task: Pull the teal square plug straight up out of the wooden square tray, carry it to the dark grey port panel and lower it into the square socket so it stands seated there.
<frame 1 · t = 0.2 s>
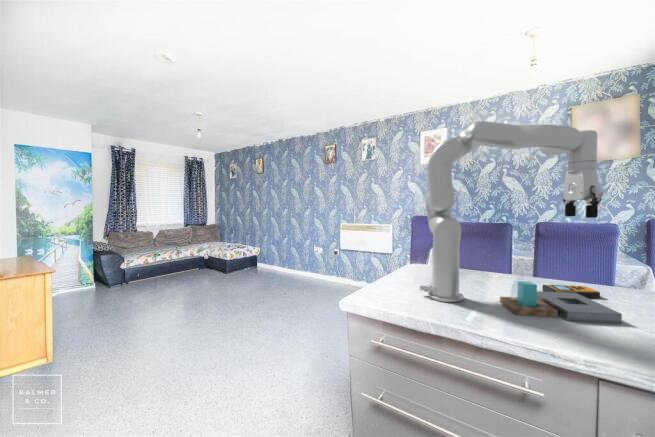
hand: (580, 216, 99), 31 cm above the worktop, tool pointing down, fingers open, 9 cm apart
electronic device: (570, 295, 110), on the worktop
plug: (526, 309, 96), resting in wooden square tray
port panel: (571, 310, 94), on the worktop
wooden square tray: (526, 308, 96), on the worktop
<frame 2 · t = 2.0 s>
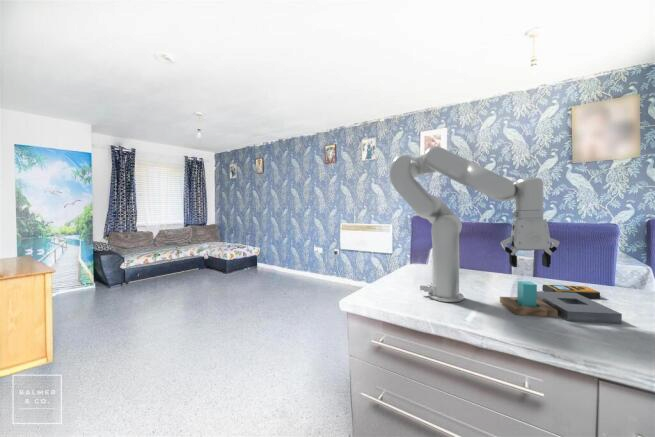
hand: (529, 266, 95), 15 cm above the worktop, tool pointing down, fingers open, 9 cm apart
nothing on the worktop moved.
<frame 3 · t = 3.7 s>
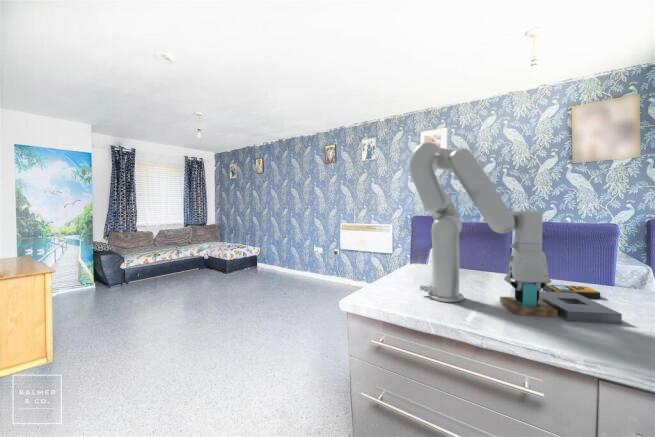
hand: (526, 300, 96), 3 cm above the worktop, tool pointing down, fingers closed on plug, 4 cm apart
plug: (526, 309, 96), resting in wooden square tray, touching gripper
everything else where it was.
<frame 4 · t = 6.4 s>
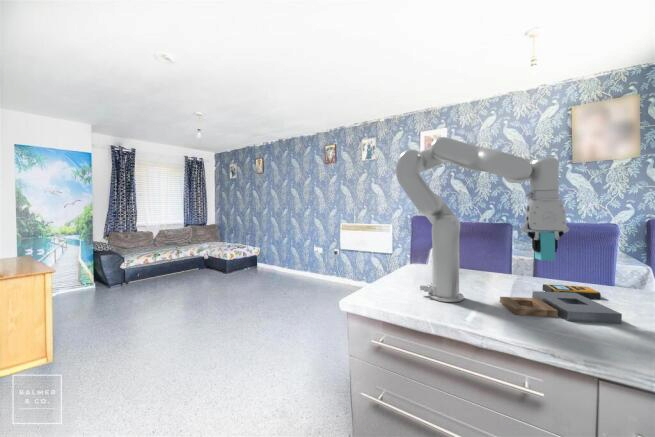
hand: (544, 250, 94), 20 cm above the worktop, tool pointing down, fingers closed on plug, 4 cm apart
plug: (544, 259, 94), point 17 cm above the worktop, touching gripper
everything else where it was.
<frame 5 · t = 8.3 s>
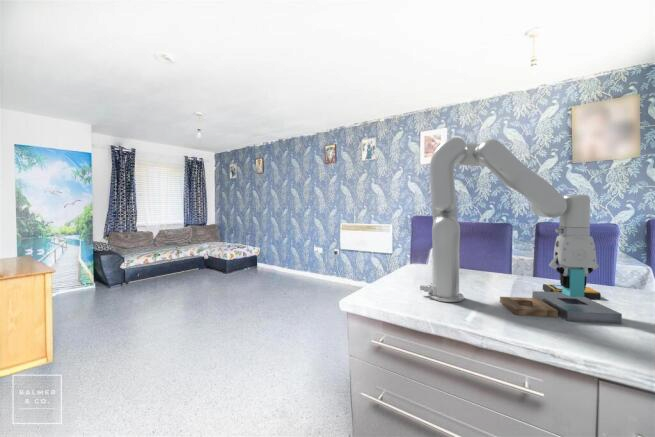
hand: (573, 286, 94), 8 cm above the worktop, tool pointing down, fingers closed on plug, 4 cm apart
plug: (573, 294, 94), point 5 cm above the worktop, touching gripper
everything else where it was.
when the fingers open (4 cm above the worktop, at t = 9.5 s): plug drops 1 cm, resting in port panel.
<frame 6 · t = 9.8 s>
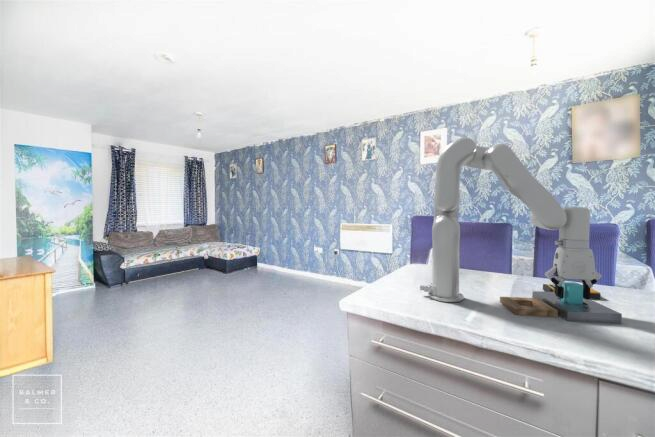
hand: (572, 297, 94), 4 cm above the worktop, tool pointing down, fingers open, 6 cm apart
plug: (571, 310, 94), resting in port panel
everything else where it was.
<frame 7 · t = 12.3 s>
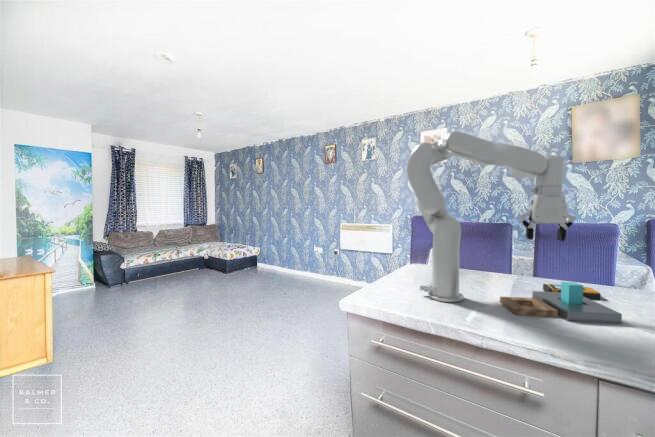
hand: (545, 239, 101), 23 cm above the worktop, tool pointing down, fingers open, 9 cm apart
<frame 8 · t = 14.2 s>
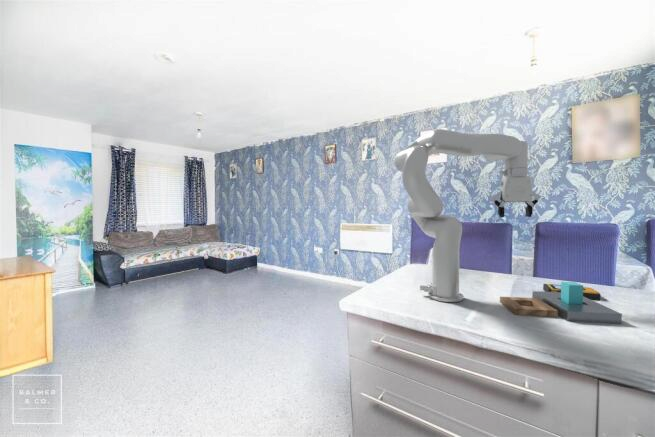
hand: (514, 216, 112), 30 cm above the worktop, tool pointing down, fingers open, 9 cm apart
at the end: plug 0.1 cm off-centre on the port panel, point 0.0 cm above the port panel's base; plug tilted 0°; the gripper is holding nothing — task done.
